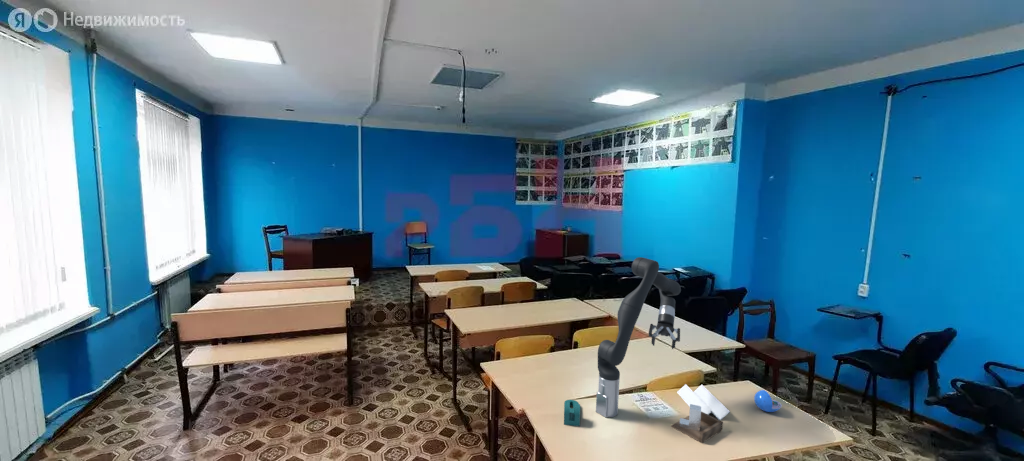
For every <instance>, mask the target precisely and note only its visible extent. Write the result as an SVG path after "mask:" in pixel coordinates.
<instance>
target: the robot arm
mask: <svg viewBox="0 0 1024 461" xmlns="http://www.w3.org/2000/svg"><path fill="white" fill-rule="evenodd" d="M659 270H660V265H659V262H658V261H656V260H654V259H649V258H647V257H642V256H641V257H640V256H639V257H636V258H634V260H633V261H632V263H631V271H632V273H633V274H634V275H635V276H636V277H639V278H642V280H641V282H640V283H639V285H638V286H637V287H636V288H635V289H634V290H632V291H631V292H630V293H628V294H627V295H626V296H625V297H623V299H622V300H621V303H620V306H619V308H618V310H617V325H618V333H617V336H616V340H615V341H612V340H609V339H604V340H602V341H601V342H599V346H598V349H597V370H598V388H597V389H598V390H597V391H596V401H595V403H596V404H595V412H596V413H597V414H599V415H601V416H602V417H604V418H614V417H616V416H618V412H619V395H620V394H619V393H620V377H621V373H620V370H619V369H618V367H617V366H619V365H621V364H622V362H623V361H624V359H625V357H626V353H627V351H628V348H629V347H628V346H629V344H630V340H631V337H632V334H633V331H634V329H635V326H636V323H637V321H638V319H639V316H640V314H641V312H642V308H643V306H644V303H645V301H646V299H647V296H648V293H649V292H650V290H651V288H652V286H655V287H656V288H657V289H658V292H659V296H660V304H659V305H660V306H659V309H658V310H659V311H658V317H657V324H656V325H654V324H653V323H650V325H649V329H648V337H649V338H651V342H650V343H651V345H652V346H654V347H655V342H656V338H657V337H659V336H664V337H669V338H670V339H671V341H672V343H671V350H674V349H675V348H676V344H677V343H678V342H681V328H680V327H677V328H675V327H674V325H675V318H676V316H675V315H676V313H675V312H676V300H675V298H674V297H673V296H678V295H680V293H681V291H682V289H681V286H680V284H679V282H678V281H676V280H674V279H671V278H668V277H666V275H664V274H663V273H661V272H659ZM655 329H656V331H655V332H654V333H653V331H654V330H655ZM674 332H675V334H677V337H675V335H674V334H673V333H674ZM676 342H677V343H676Z"/></svg>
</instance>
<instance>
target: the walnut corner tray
mask: <svg viewBox="0 0 1024 461" xmlns="http://www.w3.org/2000/svg"><path fill="white" fill-rule="evenodd" d="M683 419H686V420H689V415H688V416H686V417H684V418H683ZM670 425H671V426H670V427H672V428H674V429H676V430H677V431H679V432H681V433H682V434H684V435H686V436H688V437H690V438H691V439H693V440H695V441H697V442H699V443H700V444H703V443H705V442H706V441H708V440H709V439H711V438H713V437H714V436H716V435H718V434H719V433H722V432H723V425H724V422H723V421H722V420H718V419H717V417H714V416H711V415H710V414H709V415H708V414H706V413H704V412H702V411H701V421H700V431H696V430H692V429H688V428H684V427H680V426H679V425H680V420H678V421H677V422H674V423H672V424H670Z"/></svg>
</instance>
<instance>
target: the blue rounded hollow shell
mask: <svg viewBox="0 0 1024 461" xmlns="http://www.w3.org/2000/svg"><path fill="white" fill-rule="evenodd" d="M753 400H754V403H755V405H756V406H757V408H758V409H759V410H762V411H763V412H766V413H774V412H778V411H780V409H781V408H782V407H783V405H782V403H781V402H779V401H777V400H775V399H773V398H772V397H771V395H770V394H769V392H767V391H766V390H764V389H761V390H758V391H757V392H756V393H755V394H754V397H753Z"/></svg>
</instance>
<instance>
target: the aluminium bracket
mask: <svg viewBox="0 0 1024 461" xmlns="http://www.w3.org/2000/svg"><path fill="white" fill-rule="evenodd" d="M688 416H689V420H686V419H684V418H682V417H680V418H679V421H680V425H679V426H680V427H684V428H688V429H692V430H696V431H700V421H701V406H697V405H693V404H690V407H689V415H688Z"/></svg>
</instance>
